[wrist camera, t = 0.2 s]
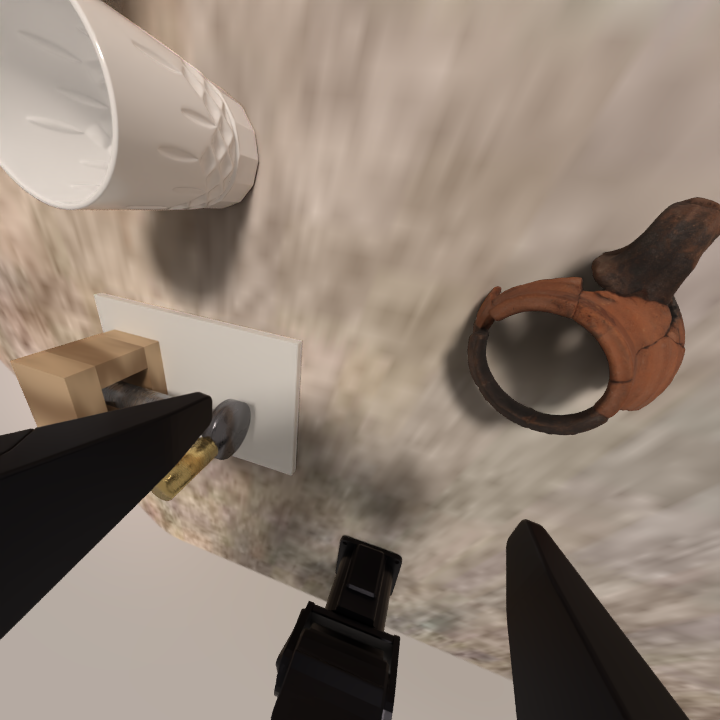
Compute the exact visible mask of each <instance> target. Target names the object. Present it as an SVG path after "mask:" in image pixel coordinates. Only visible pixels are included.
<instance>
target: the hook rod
mask: <svg viewBox="0 0 720 720" xmlns="http://www.w3.org/2000/svg"><path fill="white" fill-rule="evenodd" d="M102 393H103V396H104V400H105V403H106V405H109V406H112V407H116V408H119V409H122V408H127V407H131V406H136V405H140V404H145V403H149V402H154V401H158V400H163V399H167V398H172V396H169V395H166V394H162V393H159V392H156V391H153V390H149V389H146V388H143V387H139V386H136V385H133V384H130V383H126V382H123V381H118V382H116V383H114V384H112V385H109V386H107V387H105V388H103V389H102ZM250 420H251V411H250V408H249V406H248V404H247V403H245V402H241V401H238V400H235V399H227V400H225V401H223V402H221V403H220V404H219V405H218V406H217V407H216V408H215V409H212V421H211V423H210V425H209V427H208V428H207V429H206V430H205V431H204V433H203V434H202V435H201V436H202V437H200V438H199V439H198V440H197V441H196V442H195V443H194V445H193V446H192V447H191V448H190V449H189V451H188V452H187V453H186V454H185V455H184V457H183V458H182V459H181V460H180V461H179V462H178V464H177V465H176V466H175V467H174V468H173V469H172V470H171V471H170V472H169V473H168V474H167V475H166V476H165V477H164V478H163V479H162V480H161V481H160V482H159V483H158V484H157V485H156V486H155V487H154V488H153V489H152V490H151V491H152V493H153V494H154V495H156V496H157V497H158V498H160V499H162V500H165V501H170V500H171V499H173V498H174V497H175V496H176V495H177V494H178V493H179V492H180V491H181V490H182V489H183V488H184V487H185V486H186V485H187V484H188V483H189V482H190V481H191V480H192V479H193V478H194V477H195V476H196V475H197V474H198V473H199V472H200V471H201V470H202V469H203V468H204V467H206V466H207V465H208V464H209V463H210V462H211V461H212V460H213V459H214V458H217V459H220V460H224V459H227V458H229V457H230V456H232V455H233V454H234V453H235V452H236V451H237V450H238V448H239V447H240V446H241V444H242V443H243V441H244V439H245V437H246V435H247V432H248V429H249V425H250Z"/></svg>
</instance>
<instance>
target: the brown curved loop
mask: <svg viewBox="0 0 720 720" xmlns="http://www.w3.org/2000/svg"><path fill="white" fill-rule="evenodd" d="M719 235H720V205H719V204H718V203H716V202H714V201H712V200H708V199H705V198H699V197H696V198H691V199H688V200H684V201H681V202H677V203H674V204H672V205H670V206H669V207H668V208H666V209H665V210H664V211H663V212H662V213H661V214H660V215H659V216H658V217H657V218H656V219H655V221H654V222H653V223H652V224H651V225H650V226H649V227H648V228H647V230H646V231H645V232H644V233H642V234H641V235H640V236H639V237H638V238H637V239H636V240H635V241H634V242H632V243H631V244H629V245H628V246H625V247H623V248H621V249H618V250H614V251H610V252H605V253H603V254H602V255H601V256H599V258H596V259H595V260H594V261H593V263H592V271H593V277H594V279H595V281H596V282H597V283H598V285H599V286H600V287H602V288H604V289H605V291H595V292H591V291H584V290H583V286H582V285H583V281H582V278H581V277H568V278H555V279H545V280H538V281H535V282H531V283H527V284H524V285H519V286H516V287H513V288H511V289H508V290H506V291H504V292H503V293H501V287H498V286H497V287H495V288H493V289H492V290H491V292H490V293H489V294H488V296H487V297H486V299H485V300H484V302H483V303H482V305H481V307H480V309H479V311H478V313H477V319H476V320H475V322H474V326H473V334H472V335H471V336H470V337H469V341H468V365H469V369H470V373H471V375H472V378H473V380H474V382H475V384H476V385H477V386H478V387H479V390H480V392H481V393H482V395H483V396H484V398H485V400H487V401H488V402H489V403H490V404H491V405H492V406H493V407H494V408H495V409H496V411H498V412H499V413H500V414H502V415H503V416H505V417H506V418H507V419H509V420H510V421H512V422H514V423H517V424H518V425H520V426H522V427H525V428H530V429H531V430H535V431H539V432H544V433H547V434H557V435H575V434H578V433H582V432H585V431H589V430H591V429H594V428H596V427H598V426H600V425H602V424H604V423H606V422H607V421H608V418H610V417H612V416H614V415H615V414H616V413H617V412H618V411H619V410H628V411H633V410H640V409H641V408H643V407H644V406H646V405H648V404H649V403H650V402H652V401H653V400H654V399H655V398H656V397H657V396H659V395H660V394H661V393H662V392H663V391H664V390H665V389H666V388H667V387H668V386H669V384H670V383H671V382H672V380H673V378H674V376H675V374H676V373H677V371H678V369H679V367H680V365H681V363H682V360H683V357H684V353H685V348H684V344H685V329H684V323H683V319H682V315H681V312H680V309H679V306H678V304H677V302H676V300H675V298H674V294H675V292H676V291H677V289H678V288H679V287H680V285H681V284H682V283H683V281H684V280H685V279H686V278H687V276H688V275H689V274H690V273H691V272H692V271H693V269H694V268H695V267H696V265H697V263H698V261H699V259H700V257H701V256H702V254H703V253H704V252H705V250H706V249H707V248H708V247H709V246H710V245H711V244H712V243H713V241H714V240H715V239H716V238H717V237H718V236H719ZM500 293H501V294H500ZM528 311H542V312H548V313H553V314H557V315H560V316H564V317H567V318H572V319H573V320H574V321H575V322H577V323H578V324H580V325H581V326H583V327H584V328H585V329H586V330H588V331H589V332H590V333H591V334H592V336H594V337H595V339H596V340H597V341H598V342H599V344H600V346H601V347H602V349H603V351H604V353H605V354H606V357H607V360H608V363H609V371H610V379H609V382H608V386H607V389H606V391H605V393H604V394H603V396H602V397H601V398H600V399H599V400H598V401H597V402H596V403H595V405H594V406H593V407H591V408H589V409H587V410H585V411H582V412H579V413H575V414H568V415H550V414H544V413H541V412H538V411H535V410H534V409H532V408H528V407H526V406H524V405H522V404H520V403H518V402H516V401H515V400H513V399H512V398H511V397H510V396H509V395H508V394H506V393H505V392H504V391H503V390H502V389H501V387H500V386H499V385H498V383H497V382H496V381H495V379H494V377H493V375H492V374H491V372H490V369H489V367H488V364H487V360H486V345H487V339H488V336H489V328H490V327H491V325H492V324H493V322H494V321H501V320H503V319H505V318H507V317H509V316H511V315H514V314H517V313H521V312H528Z"/></svg>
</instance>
